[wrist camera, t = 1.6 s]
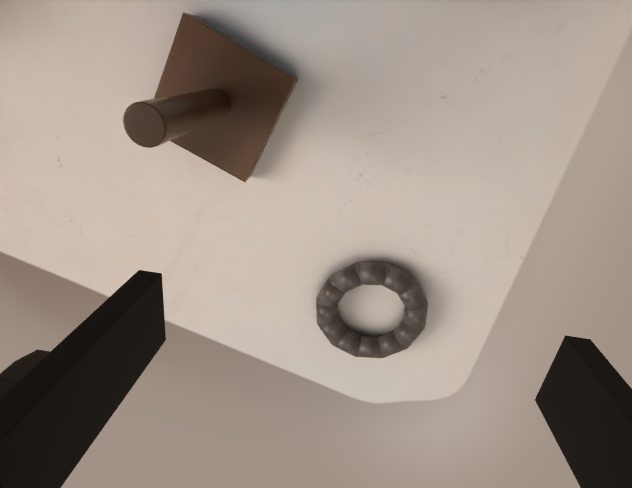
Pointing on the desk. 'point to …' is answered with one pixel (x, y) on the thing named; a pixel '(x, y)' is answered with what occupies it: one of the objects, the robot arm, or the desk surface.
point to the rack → (213, 100)
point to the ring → (371, 276)
